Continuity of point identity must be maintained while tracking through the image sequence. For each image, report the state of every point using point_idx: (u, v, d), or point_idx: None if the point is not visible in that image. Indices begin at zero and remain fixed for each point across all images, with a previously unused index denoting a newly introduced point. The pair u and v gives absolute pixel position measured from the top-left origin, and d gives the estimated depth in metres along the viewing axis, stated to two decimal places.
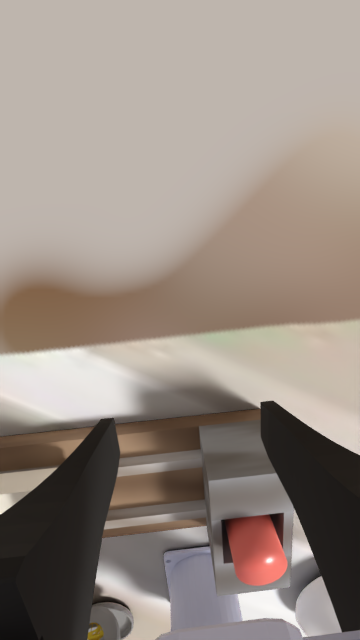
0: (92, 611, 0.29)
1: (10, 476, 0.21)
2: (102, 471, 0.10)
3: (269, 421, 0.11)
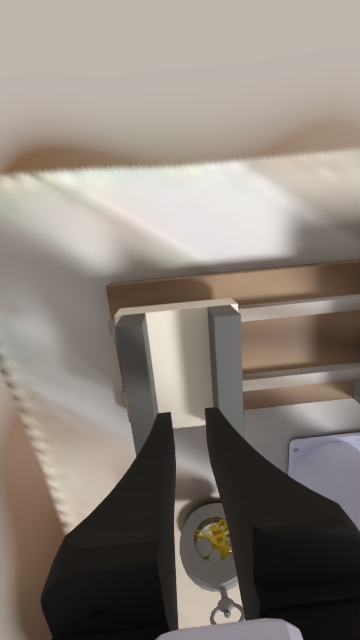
0: (208, 508, 0.26)
1: (163, 305, 0.18)
2: (170, 463, 0.10)
3: (208, 428, 0.11)
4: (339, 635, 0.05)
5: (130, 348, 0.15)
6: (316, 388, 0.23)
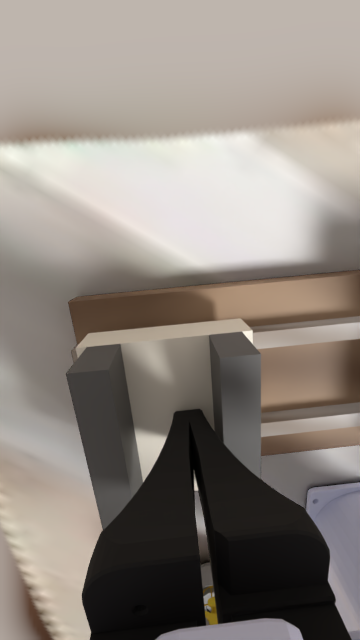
0: (206, 571, 0.21)
1: (147, 329, 0.13)
2: (191, 461, 0.10)
3: (190, 430, 0.11)
4: None
5: (91, 404, 0.10)
6: (345, 430, 0.18)
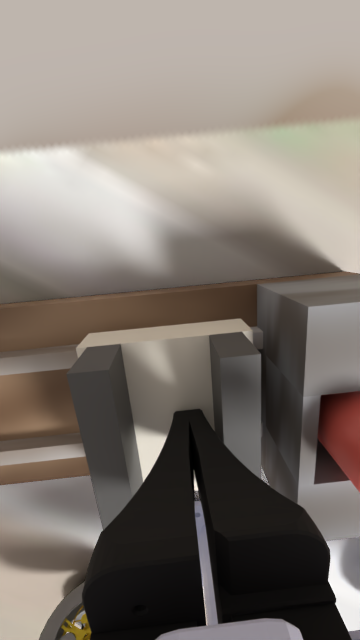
0: None
1: (147, 330, 0.13)
2: (191, 461, 0.10)
3: (190, 430, 0.11)
4: None
5: (92, 405, 0.10)
6: None
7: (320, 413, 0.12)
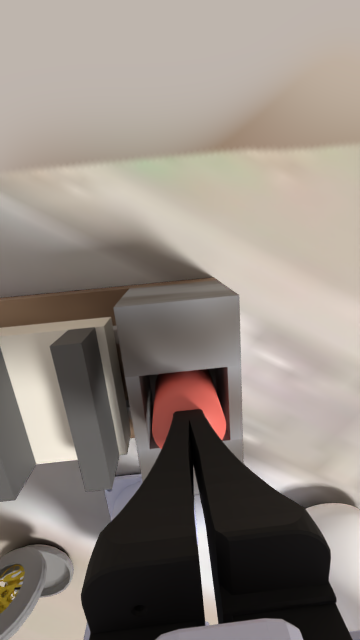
0: (17, 552, 0.24)
1: (31, 326, 0.16)
2: (190, 461, 0.10)
3: (190, 430, 0.11)
4: None
5: None
6: None
7: (155, 389, 0.15)
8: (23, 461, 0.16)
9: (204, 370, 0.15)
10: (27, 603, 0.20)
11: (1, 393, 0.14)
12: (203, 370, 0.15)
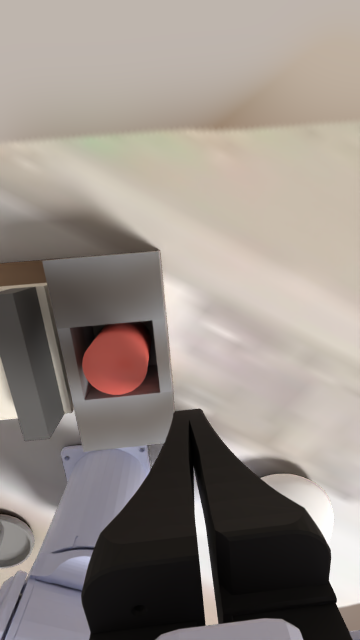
0: None
1: None
2: (190, 461, 0.10)
3: (190, 430, 0.11)
4: None
5: None
6: None
7: None
8: None
9: (140, 325, 0.17)
10: None
11: None
12: (139, 325, 0.17)
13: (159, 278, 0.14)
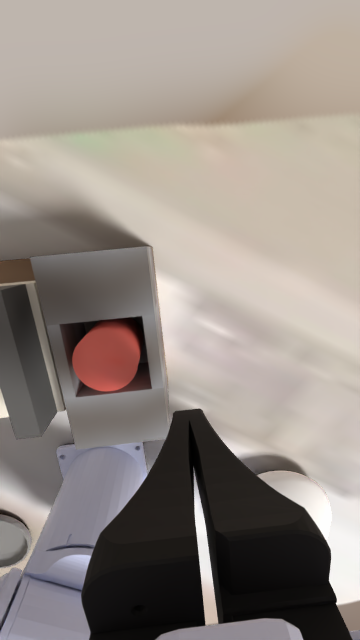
0: None
1: None
2: (190, 461, 0.10)
3: (190, 430, 0.11)
4: None
5: None
6: None
7: None
8: None
9: (132, 322, 0.17)
10: None
11: None
12: (131, 321, 0.17)
13: (148, 273, 0.14)
